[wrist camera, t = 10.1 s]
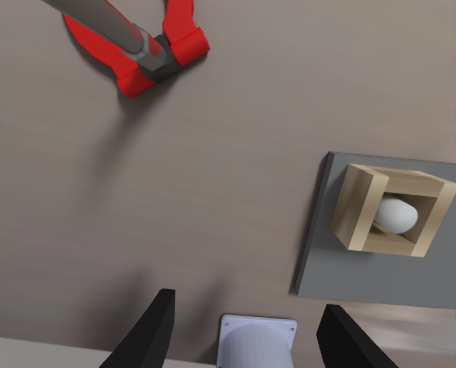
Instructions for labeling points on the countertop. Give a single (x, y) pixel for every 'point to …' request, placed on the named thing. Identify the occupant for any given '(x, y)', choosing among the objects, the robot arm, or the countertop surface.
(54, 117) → the countertop surface
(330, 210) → the post mat
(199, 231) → the countertop surface
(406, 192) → the collar
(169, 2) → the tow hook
